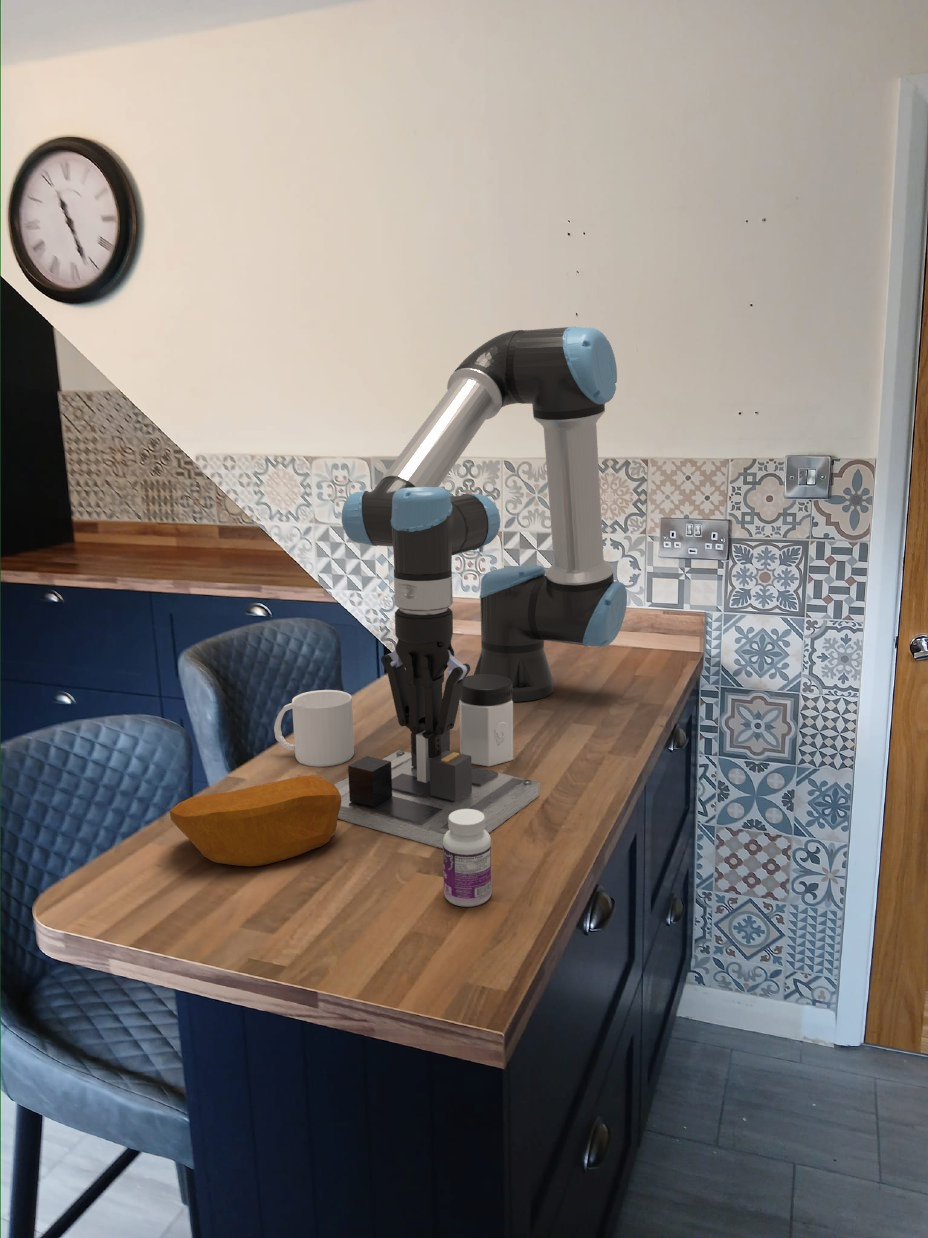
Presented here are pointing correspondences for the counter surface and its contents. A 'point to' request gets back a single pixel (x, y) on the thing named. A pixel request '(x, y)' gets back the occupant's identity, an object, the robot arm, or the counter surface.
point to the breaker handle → (450, 775)
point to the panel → (424, 797)
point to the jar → (486, 719)
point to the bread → (261, 821)
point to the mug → (320, 728)
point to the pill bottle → (467, 859)
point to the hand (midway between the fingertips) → (427, 778)
